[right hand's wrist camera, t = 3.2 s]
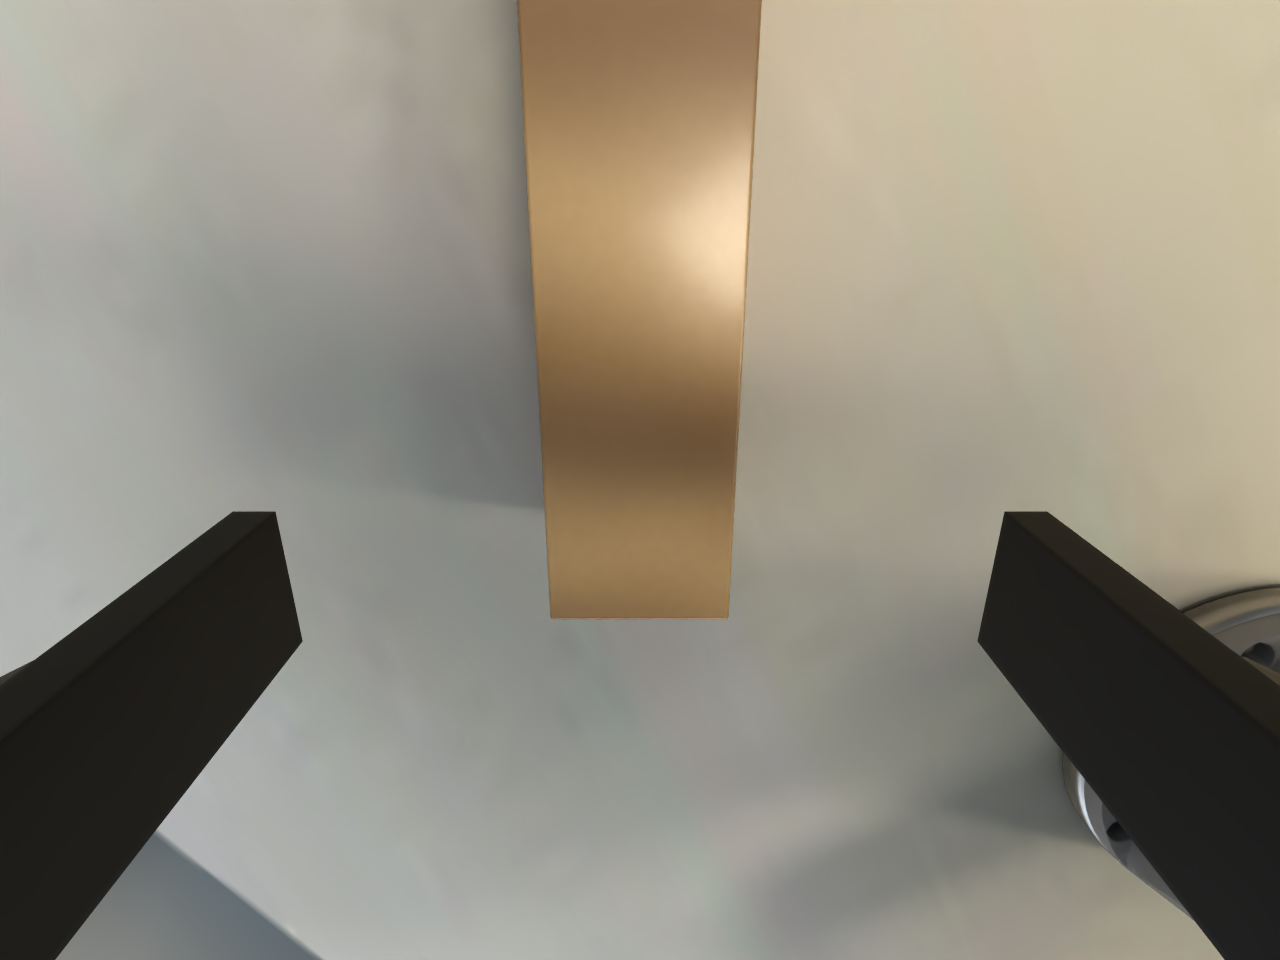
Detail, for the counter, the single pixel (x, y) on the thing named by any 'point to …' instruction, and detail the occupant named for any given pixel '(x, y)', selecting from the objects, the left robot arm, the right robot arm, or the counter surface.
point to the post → (639, 293)
